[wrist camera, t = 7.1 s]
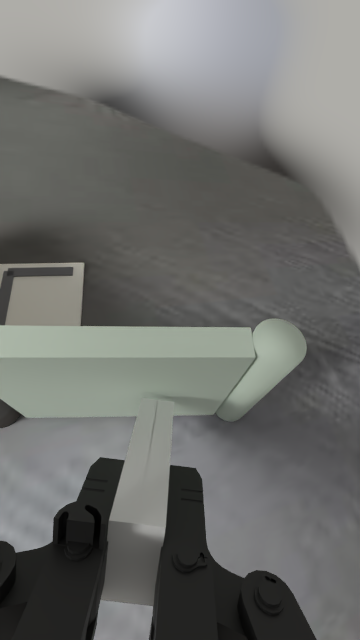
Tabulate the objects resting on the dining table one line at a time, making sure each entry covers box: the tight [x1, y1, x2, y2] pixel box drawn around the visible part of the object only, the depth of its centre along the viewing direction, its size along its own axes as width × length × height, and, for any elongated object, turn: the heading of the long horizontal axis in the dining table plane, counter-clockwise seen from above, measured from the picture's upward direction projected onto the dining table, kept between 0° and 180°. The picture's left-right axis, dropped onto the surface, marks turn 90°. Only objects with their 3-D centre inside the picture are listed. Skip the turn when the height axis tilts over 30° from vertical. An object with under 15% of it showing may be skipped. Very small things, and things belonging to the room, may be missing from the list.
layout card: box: [0, 263, 84, 326], centre depth 22 cm, size 6×6×1 cm
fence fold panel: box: [0, 319, 307, 422], centre depth 15 cm, size 12×2×8 cm, turn 92°
